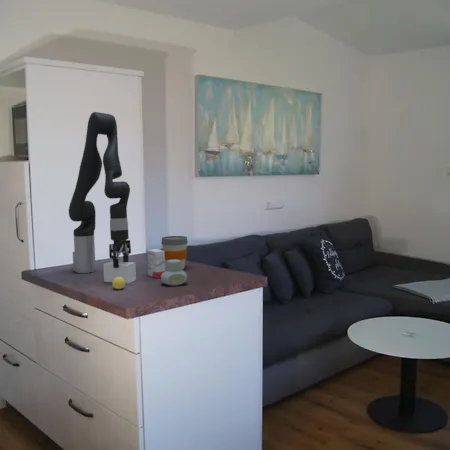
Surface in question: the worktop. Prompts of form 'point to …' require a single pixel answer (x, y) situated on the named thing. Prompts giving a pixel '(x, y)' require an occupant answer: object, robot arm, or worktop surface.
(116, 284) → the ball
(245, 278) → the worktop surface
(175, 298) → the worktop surface
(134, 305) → the worktop surface
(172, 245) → the reusable coffee cup
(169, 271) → the air freshener
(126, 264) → the white rectangular block
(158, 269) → the ink box
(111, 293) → the worktop surface
